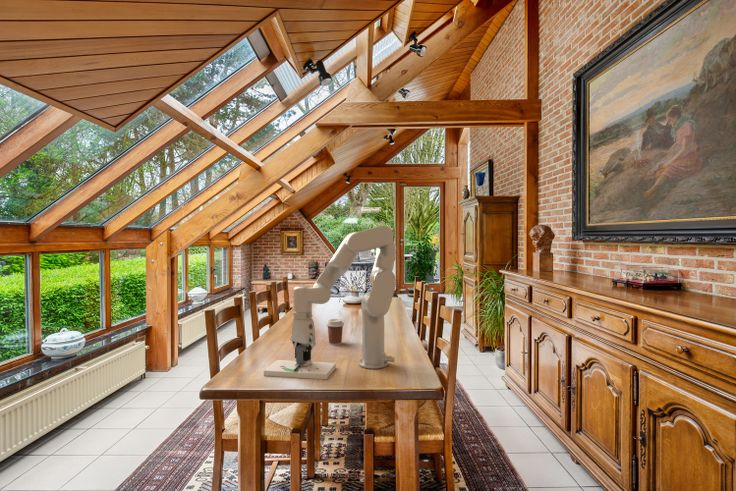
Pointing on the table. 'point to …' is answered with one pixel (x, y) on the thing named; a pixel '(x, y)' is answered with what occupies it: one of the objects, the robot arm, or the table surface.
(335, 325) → the coffee cup
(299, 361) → the grey boxy piece
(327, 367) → the dial board
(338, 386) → the table surface
